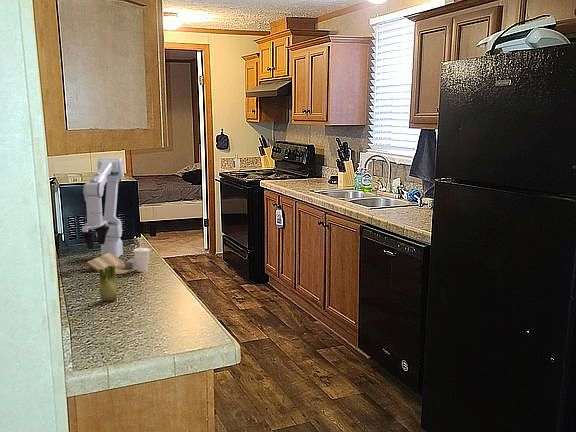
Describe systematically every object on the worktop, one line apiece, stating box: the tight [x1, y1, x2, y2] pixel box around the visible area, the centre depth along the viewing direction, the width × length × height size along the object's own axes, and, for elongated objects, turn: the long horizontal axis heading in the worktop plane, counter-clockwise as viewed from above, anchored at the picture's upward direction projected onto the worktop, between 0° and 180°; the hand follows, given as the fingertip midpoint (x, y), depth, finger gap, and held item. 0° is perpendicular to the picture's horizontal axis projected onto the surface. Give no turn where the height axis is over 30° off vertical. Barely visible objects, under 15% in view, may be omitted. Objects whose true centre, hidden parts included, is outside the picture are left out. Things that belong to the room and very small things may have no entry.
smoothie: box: [132, 238, 151, 273], centre depth 213 cm, size 6×6×14 cm
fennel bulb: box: [98, 265, 118, 302], centre depth 180 cm, size 6×5×12 cm
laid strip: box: [115, 263, 137, 275], centre depth 217 cm, size 16×8×1 cm, turn 167°
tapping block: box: [124, 257, 136, 270], centre depth 219 cm, size 7×3×2 cm, turn 177°
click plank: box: [85, 253, 126, 273], centre depth 218 cm, size 16×8×1 cm, turn 167°
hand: (96, 246), depth 216 cm, fingers open, 7 cm apart
